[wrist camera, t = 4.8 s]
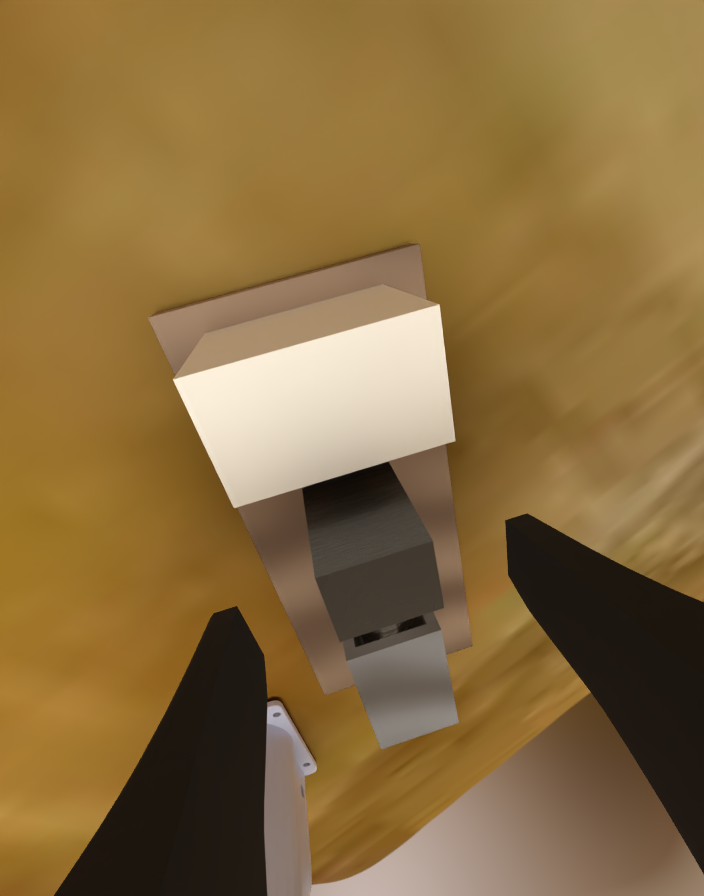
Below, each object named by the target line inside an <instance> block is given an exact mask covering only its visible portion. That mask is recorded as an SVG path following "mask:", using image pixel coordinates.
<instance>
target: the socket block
mask: <svg viewBox="0 0 704 896" xmlns="http://www.w3.org/2000/svg"><path fill="white" fill-rule="evenodd" d="M173 381H174V383H175V385H176V387H177V389H178V391H179V393H180V396H181V398H182V400H183V402H184V404H185V406H186V408H187V410H188V412H189V415H190V417H191V419H192V421H193V423H194V425H195V427H196V429H197V431H198V434H199V436H200V438H201V440H202V442H203V444H204V446H205V448H206V450H207V453H208V455H209V457H210V459H211V461H212V463H213V465H214V467H215V469H216V472H217V474H218V476H219V478H220V480H221V482H222V484H223V486H224V488H225V490H226V493H227V495H228V497H229V499H230V501H231V503H232V505H233V507H234V508H236V507H240V506H243V505H246V504H249V503H253V502H256V501H259V500H263V499H266V498H269V497H273V496H276V495H279V494H282V493H286V492H289V491H292V490H296V489H299V488H302V487H306V486H309V485H312V484H315V483H319V482H322V481H325V480H329V479H332V478H335V477H339V476H342V475H345V474H348V473H352V472H355V471H358V470H362V469H365V468H368V467H371V466H375V465H378V464H381V463H385V462H388V461H391V460H395V459H398V458H401V457H404V456H408V455H411V454H414V453H418V452H421V451H424V450H428V449H431V448H434V447H437V446H441V445H444V444H447V443H451V442H454V441H455V433H454V424H453V416H452V407H451V399H450V390H449V381H448V373H447V364H446V356H445V347H444V339H443V330H442V322H441V313H440V305H439V304H437V303H434V302H431V301H428V300H426V299H423V298H420V297H417V296H414V295H411V294H409V293H406V292H403V291H400V290H397V289H395V288H392V287H389V286H386V285H383V284H382V285H378V286H375V287H371V288H367V289H364V290H360V291H357V292H353V293H349V294H346V295H342V296H338V297H335V298H331V299H328V300H324V301H320V302H317V303H313V304H310V305H306V306H302V307H299V308H295V309H291V310H288V311H284V312H281V313H277V314H273V315H270V316H266V317H262V318H259V319H255V320H252V321H248V322H244V323H241V324H237V325H234V326H230V327H226V328H223V329H219V330H215V331H212V332H208V333H205V334H204V335H203V336H202V338H201V339H200V341H199V342H198V344H197V345H196V347H195V348H194V350H193V351H192V352H191V354H190V355H189V357H188V358H187V360H186V361H185V363H184V364H183V366H182V367H181V369H180V370H179V371H178V373H177V374H176V376H175V377H174V379H173Z"/></svg>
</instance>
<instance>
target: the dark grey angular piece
mask: <svg viewBox="0 0 704 896" xmlns="http://www.w3.org/2000/svg"><path fill="white" fill-rule="evenodd" d="M302 492H303V499H304V506H305V513H306V520H307V527H308V534H309V541H310V548H311V555H312V562H313V569H314V576H315V580H316V583H317V585H318V588H319V590H320V593H321V595H322V598H323V600H324V603H325V606H326V608H327V611H328V613H329V616H330V618H331V621H332V623H333V626H334V629H335V631H336V634H337V636H338V639H339V641H340V642H342V641H345V640H348V639H351V638H354V637H357V636H360V635H361V636H362V639H363V642H364V644H367V643H370V642H373V641H376V640H380V639H383V638H386V637H389V636H392V635H395V634H398V633H401V632H404V631H407V630H410V629H413V628H416V624H415V620H414V618H415V617H418V616H421V615H424V614H427V613H430V612H433V611H436V610H439V609H443V608H444V602H443V596H442V591H441V585H440V579H439V573H438V568H437V562H436V556H435V550H434V545H433V540H432V538H431V537H430V535H429V533H428V531H427V530H426V528H425V526H424V524H423V522H422V521H421V519H420V517H419V515H418V513H417V512H416V510H415V508H414V506H413V504H412V503H411V501H410V499H409V497H408V495H407V494H406V492H405V490H404V488H403V487H402V485H401V483H400V481H399V479H398V478H397V476H396V474H395V472H394V470H393V469H392V467H391V465H390V463H389V461H388V462H385V463H381V464H378V465H375V466H371V467H368V468H365V469H362V470H358V471H355V472H352V473H348V474H345V475H342V476H339V477H335V478H332V479H329V480H325V481H322V482H319V483H315V484H312V485H309V486H306V487H302Z"/></svg>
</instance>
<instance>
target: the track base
mask: <svg viewBox="0 0 704 896" xmlns="http://www.w3.org/2000/svg"><path fill="white" fill-rule="evenodd" d="M382 284H383V285H386V286H389V287H392V288H395V289H397V290H400V291H403V292H406V293H409V294H411V295H414V296H417V297H420V298H423V299H426V300H427V297H426V290H425V282H424V274H423V267H422V259H421V251H420V244H408V245H405V246H401V247H397V248H394V249H390V250H386V251H383V252H379V253H375V254H372V255H368V256H364V257H361V258H357V259H353V260H350V261H346V262H342V263H338V264H335V265H331V266H327V267H324V268H320V269H316V270H313V271H309V272H305V273H302V274H298V275H294V276H291V277H287V278H283V279H280V280H276V281H272V282H268V283H265V284H261V285H257V286H254V287H250V288H246V289H243V290H239V291H235V292H232V293H228V294H224V295H221V296H217V297H213V298H210V299H206V300H202V301H198V302H195V303H191V304H187V305H184V306H180V307H176V308H173V309H169V310H165V311H162V312H158V313H155V314H153V315H152V316H150V317H148V319H149V321H150V323H151V325H152V327H153V329H154V331H155V334H156V336H157V338H158V340H159V342H160V344H161V346H162V348H163V351H164V353H165V355H166V357H167V359H168V361H169V363H170V366H171V368H172V370H173V372H174V374H175V376H176V374H177V373H178V371H179V370H180V369H181V367H182V366H183V364H184V363H185V361H186V360H187V358H188V357H189V355H190V354H191V352H192V351H193V350H194V348H195V347H196V345H197V344H198V342H199V341H200V339H201V338H202V336H203V335H204V334H205V333H208V332H212V331H215V330H219V329H223V328H226V327H230V326H234V325H237V324H241V323H244V322H248V321H252V320H255V319H259V318H262V317H266V316H270V315H273V314H277V313H281V312H284V311H288V310H291V309H295V308H299V307H302V306H306V305H310V304H313V303H317V302H320V301H324V300H328V299H331V298H335V297H338V296H342V295H346V294H349V293H353V292H357V291H360V290H364V289H367V288H371V287H375V286H378V285H382ZM389 463H390V465H391V467H392V469H393V470H394V472H395V474H396V476H397V478H398V479H399V481H400V483H401V485H402V487H403V488H404V490H405V492H406V494H407V495H408V497H409V499H410V501H411V503H412V504H413V506H414V508H415V510H416V512H417V513H418V515H419V517H420V519H421V521H422V522H423V524H424V526H425V528H426V530H427V531H428V533H429V535H430V537H431V538H432V540H433V545H434V550H435V556H436V562H437V568H438V573H439V579H440V585H441V591H442V596H443V602H444V608H443V609H439V610H436V611H433V612H430V613H427V614H424V615H421V616H418V617H415V618H414V620H415V624H416V628H413V629H410V630H407V631H404V632H401V633H398V634H395V635H392V636H389V637H386V638H383V639H380V640H376V641H373V642H370V643H367V644H364V642H363V639H362V636H361V635H360V636H357V637H354V638H351V639H348V640H345V641H342V642H340V641H339V639H338V636H337V634H336V631H335V629H334V626H333V623H332V621H331V618H330V616H329V613H328V611H327V608H326V606H325V603H324V600H323V598H322V595H321V593H320V590H319V588H318V585H317V583H316V580H315V576H314V569H313V562H312V555H311V548H310V541H309V534H308V527H307V520H306V513H305V506H304V499H303V492H302V488H299V489H296V490H292V491H289V492H286V493H282V494H279V495H276V496H273V497H269V498H266V499H263V500H259V501H256V502H253V503H249V504H246V505H243V506H240V507H237V508H238V511H239V513H240V515H241V517H242V519H243V521H244V523H245V526H246V528H247V530H248V532H249V534H250V536H251V538H252V540H253V543H254V545H255V547H256V549H257V551H258V553H259V555H260V558H261V560H262V562H263V564H264V566H265V568H266V570H267V572H268V575H269V577H270V579H271V581H272V583H273V585H274V587H275V590H276V592H277V594H278V596H279V598H280V600H281V602H282V604H283V607H284V609H285V611H286V613H287V615H288V617H289V619H290V622H291V624H292V626H293V628H294V630H295V632H296V634H297V636H298V639H299V641H300V643H301V645H302V647H303V649H304V651H305V654H306V656H307V658H308V660H309V662H310V664H311V666H312V668H313V671H314V673H315V675H316V677H317V679H318V681H319V683H320V686H321V688H322V690H323V692H324V694H325V695H327V694H330V693H333V692H336V691H339V690H342V689H345V688H348V687H351V686H354V685H356V687H357V689H358V692H359V694H360V697H361V699H362V702H363V705H364V707H365V710H366V712H367V715H368V717H369V720H370V722H371V725H372V728H373V730H374V733H375V735H376V738H377V740H378V743H379V745H380V748H381V750H382V749H384V748H387V747H390V746H393V745H396V744H399V743H402V742H405V741H408V740H410V739H413V738H416V737H419V736H422V735H425V734H428V733H431V732H434V731H436V730H439V729H442V728H445V727H448V726H451V725H454V724H457V723H459V721H458V716H457V711H456V705H455V700H454V695H453V689H452V684H451V679H450V673H449V668H448V662H447V657H446V655H447V654H450V653H453V652H456V651H459V650H462V649H465V648H468V647H471V646H472V640H471V632H470V625H469V617H468V609H467V602H466V594H465V587H464V579H463V571H462V564H461V556H460V549H459V541H458V533H457V526H456V518H455V510H454V503H453V495H452V488H451V480H450V472H449V465H448V457H447V449H446V444H444V445H441V446H437V447H434V448H431V449H428V450H424V451H421V452H418V453H414V454H411V455H408V456H404V457H401V458H398V459H395V460H391V461H389Z"/></svg>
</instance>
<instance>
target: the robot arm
mask: <svg viewBox="0 0 704 896" xmlns="http://www.w3.org/2000/svg"><path fill="white" fill-rule="evenodd" d="M505 523H506V541H507V559H508V575H509V577H510V579H511V581H512V582H513V584H514V586H515V588H516V589H517V591H518V593H519V594H520V596H521V598H522V599H523V601H524V603H525V604H526V606H527V608H528V609H529V611H530V612H531V614H532V615H533V616H534V618H535V619H536V620H537V622H538V623H539V624H540V626H541V627H542V628H543V630H544V631H545V632H546V634H547V635H548V636H549V638H550V639H551V640H552V642H553V643H554V644H555V646H556V647H557V648H558V649H559V651H560V652H561V653H562V655H563V656H564V657H565V659H566V660H567V661H568V663H569V664H570V665H571V667H572V668H573V669H574V670H575V672H576V673H577V674H578V676H579V677H580V678H581V680H582V681H583V682H584V684H585V685H586V686H587V688H588V689H589V690H590V691H591V693H592V694H593V696H594V697H595V699H596V700H597V701H598V703H599V704H600V705H601V707H602V708H603V710H604V711H605V713H606V714H607V716H608V717H609V719H610V721H611V722H612V724H613V725H614V727H615V728H616V730H617V731H618V733H619V735H620V736H621V738H622V739H623V741H624V742H625V744H626V746H627V747H628V749H629V750H630V752H631V754H632V755H633V756H634V758H635V760H636V761H637V763H638V765H639V766H640V768H641V770H642V771H643V773H644V775H645V776H646V778H647V779H648V781H649V783H650V784H651V786H652V788H653V789H654V791H655V792H656V794H657V796H658V797H659V799H660V801H661V802H662V804H663V805H664V807H665V809H666V811H667V812H668V813H669V816H670V817H671V819H672V821H673V822H674V824H675V826H676V827H677V829H678V831H679V833H680V834H681V836H682V838H683V839H684V841H685V843H686V844H687V846H688V848H689V849H690V851H691V853H692V855H693V856H694V858H695V859H696V861H697V863H698V865H699V867H700V868H701V870H702V872H703V873H704V602H701V601H699V600H697V599H694V598H692V597H689V596H687V595H685V594H682V593H680V592H678V591H675V590H673V589H671V588H669V587H667V586H664V585H662V584H660V583H658V582H656V581H654V580H652V579H650V578H647V577H645V576H643V575H641V574H639V573H637V572H635V571H633V570H631V569H629V568H627V567H625V566H623V565H621V564H619V563H617V562H615V561H613V560H611V559H609V558H607V557H605V556H603V555H601V554H600V553H598V552H596V551H594V550H592V549H590V548H588V547H586V546H585V545H583V544H581V543H579V542H577V541H576V540H574V539H572V538H570V537H568V536H567V535H565V534H563V533H561V532H559V531H558V530H556V529H554V528H552V527H551V526H549V525H547V524H545V523H543V522H542V521H540V520H538V519H536V518H535V517H533V516H531V515H529V514H524V515H521V516H518V517H514V518H511V519H508V520H505ZM316 770H317V764H316V762H315V760H314V758H313V757H312V755H311V753H310V751H309V750H308V748H307V746H306V744H305V743H304V741H303V739H302V737H301V736H300V734H299V732H298V731H297V729H296V727H295V725H294V724H293V722H292V720H291V718H290V717H289V715H288V713H287V711H286V710H285V708H284V706H283V704H282V703H281V702H280V701H278V700H274V701H270V702H267V684H266V671H265V660H264V654H263V653H262V651H261V649H260V647H259V645H258V643H257V642H256V640H255V638H254V636H253V634H252V633H251V631H250V629H249V627H248V625H247V624H246V622H245V620H244V618H243V616H242V614H241V613H240V611H239V609H238V607H237V606H236V607H232V608H229V609H226V610H223V611H220V612H217V613H214V614H213V615H212V617H211V618H210V620H209V623H208V625H207V627H206V629H205V631H204V633H203V636H202V638H201V640H200V642H199V644H198V647H197V649H196V651H195V653H194V655H193V657H192V660H191V662H190V664H189V666H188V668H187V670H186V672H185V674H184V676H183V678H182V680H181V682H180V685H179V687H178V689H177V691H176V693H175V695H174V697H173V699H172V701H171V703H170V705H169V707H168V709H167V711H166V713H165V715H164V717H163V718H162V720H161V722H160V724H159V726H158V728H157V730H156V731H155V733H154V735H153V737H152V739H151V741H150V742H149V744H148V746H147V748H146V750H145V752H144V754H143V755H142V757H141V759H140V761H139V763H138V764H137V766H136V768H135V769H134V771H133V773H132V775H131V776H130V778H129V780H128V782H127V783H126V785H125V787H124V788H123V790H122V792H121V793H120V795H119V797H118V798H117V800H116V801H115V803H114V805H113V806H112V808H111V810H110V811H109V813H108V814H107V816H106V818H105V819H104V821H103V822H102V824H101V826H100V827H99V829H98V830H97V832H96V833H95V835H94V836H93V838H92V839H91V841H90V842H89V844H88V845H87V847H86V848H85V850H84V852H83V853H82V855H81V856H80V858H79V859H78V861H77V862H76V864H75V865H74V867H73V868H72V870H71V871H70V873H69V874H68V876H67V877H66V878H65V880H64V881H63V883H62V884H61V886H60V887H59V889H58V890H57V892H56V893H55V895H54V896H310V892H311V882H312V871H311V857H310V843H309V829H308V815H307V801H306V787H305V776H307V775H310V774H312V773H314V772H316Z"/></svg>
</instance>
